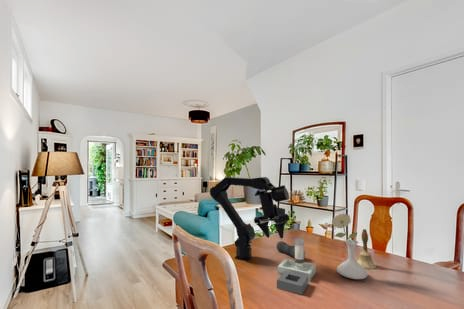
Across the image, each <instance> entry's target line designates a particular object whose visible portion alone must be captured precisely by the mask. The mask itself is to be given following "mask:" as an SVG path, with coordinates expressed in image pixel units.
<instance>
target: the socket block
mask: <svg viewBox="0 0 464 309" xmlns="http://www.w3.org/2000/svg"><path fill="white" fill-rule="evenodd" d="M308 285H309V281H308V276H305V275H301V274H297V273H293V272H288V271H284V272H283V274H282V275H281V274H280V276H279V277H278V278H277V279H276V289H279V290H282V291H286V292H289V293H293V294H297V295H300V296H302V295H303V294H304V292H305V290H306V288H307V287H308Z"/></svg>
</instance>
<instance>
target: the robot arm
mask: <svg viewBox="0 0 464 309" xmlns="http://www.w3.org/2000/svg"><path fill="white" fill-rule="evenodd" d="M231 186H242V187H249V188H253V189H256V192H255V193H254V196H255V197H257V196H259V201H260V205H261V207H259V210H262V214H263V215H262V214H261V215H257V216H255V217H253V222H254V224H256V225H257V226H258V227H259V228H260V230H261V231H262V233H263V234H264V235H265V237H267V238H270V237H271V236H270V231H269V230H270V229H269V224H270V222H274V224H273V225H274V227H275V229H276V232H277V234H278V236H279V237H280V239H281V240H282V239H284V232H285V225H286V223H288V221H290V216H289V214H287V213H286V208H282V207H278V205H277V204H275V203H279V202H285V201H289V200H290V194H289V191H288V188H286V185H285V184H284V185H280V186H276V185H274V184H273V183H272V182H271V180H270V179H269V178H268V177H267V176H263V177H262V176H261V177H254V178H253V177H251V178H247V177H232V176H226V177H224V178H223V179H222V180H221V181H219V182H218V183H217V184H215V185H214V186H212V187H211V188H210V190H209V195H210V197H211V198H212V199H213V200H214V201H215V202H217V203H218V204H219V205H220V206H221V207H222V209H223V211H224V212H225V214H226V215H227V217H228V218H229V220H230V221H231V222H232V225H233V226H234V227H235V229H236V236H237V239H236V240H235V241H234V242H233V243H234V246H235V248H236V253H235V255H236V256H234V258H235V259H237V260H241V261H245V262H247V261H248V260H250V259H251V258H252V257H253V254H252V250H253V249H252V248H251V247H252V246H251V244H252V242H253V241H254V239H255V238H256V232H255V228H253V226H252V225H251V223H245V221H244V220H243V219H242V217H241V216H240V215H239V213H238V211H237V210H236V208H235V207H234V206H233V204H232V203H231V201H230V199H229V197H228V196H229V195H228V192H227V191H228V190H229V188H230V187H231ZM274 202H275V203H274Z"/></svg>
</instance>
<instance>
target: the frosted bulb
mask: <svg viewBox="0 0 464 309" xmlns="http://www.w3.org/2000/svg"><path fill="white" fill-rule="evenodd" d="M293 244H294V246H295V258H294V260H295V269H297V270H302V271H304V261H305V260H304V259H305V258H304V250H305V248H304V244H305V239H304V238H302V237H295V238H294V243H293Z"/></svg>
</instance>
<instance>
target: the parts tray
mask: <svg viewBox="0 0 464 309" xmlns="http://www.w3.org/2000/svg"><path fill="white" fill-rule="evenodd" d="M316 268H317V264H315V263H311V262H310V263H309V262H304V271H302V270H297V269H295V259H289V258H285V259H284V260H283V261H282V262H280V263H279V265H277V275H280V276H281V275H282V274H283V272H284V271H288V272H293V273H297V274H301V275H305V276H308V283H309V282H311V281H312V279H313V277H314V276H315V274H316V273H317V272H316V271H317V269H316Z"/></svg>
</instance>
